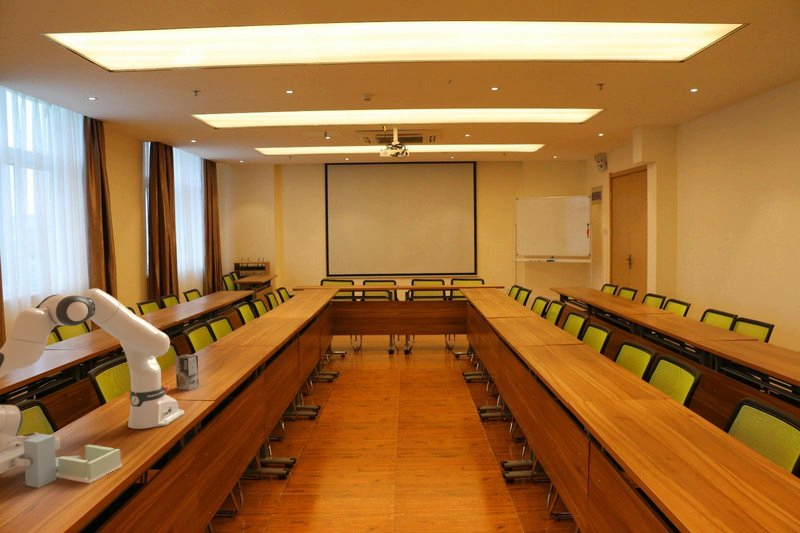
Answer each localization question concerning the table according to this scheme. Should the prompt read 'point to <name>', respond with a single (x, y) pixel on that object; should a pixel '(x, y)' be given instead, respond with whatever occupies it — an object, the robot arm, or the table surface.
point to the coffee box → (187, 371)
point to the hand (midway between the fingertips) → (42, 457)
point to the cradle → (90, 464)
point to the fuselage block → (40, 460)
